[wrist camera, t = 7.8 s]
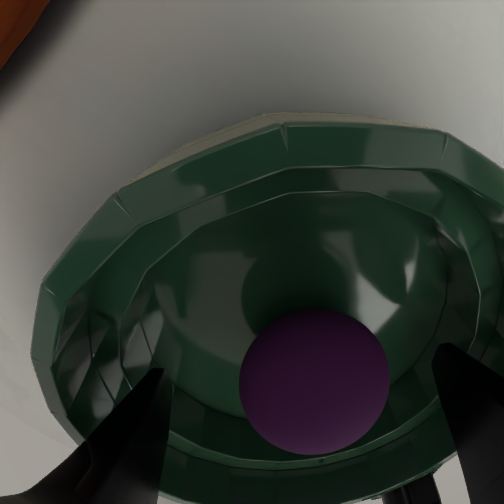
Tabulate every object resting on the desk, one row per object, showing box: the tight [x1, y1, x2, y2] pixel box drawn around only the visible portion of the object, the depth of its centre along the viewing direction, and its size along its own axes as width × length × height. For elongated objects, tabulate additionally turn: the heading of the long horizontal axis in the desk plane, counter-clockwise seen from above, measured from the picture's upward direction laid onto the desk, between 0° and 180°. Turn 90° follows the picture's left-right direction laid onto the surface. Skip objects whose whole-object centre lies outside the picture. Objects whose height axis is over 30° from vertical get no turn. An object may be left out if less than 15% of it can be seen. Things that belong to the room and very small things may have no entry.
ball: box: [239, 308, 390, 455], centre depth 8 cm, size 4×4×4 cm
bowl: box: [30, 112, 504, 504], centre depth 9 cm, size 14×14×5 cm
